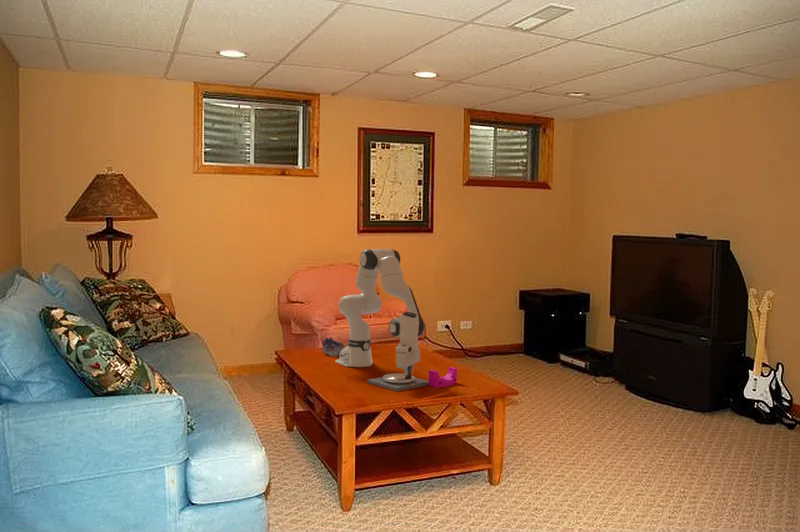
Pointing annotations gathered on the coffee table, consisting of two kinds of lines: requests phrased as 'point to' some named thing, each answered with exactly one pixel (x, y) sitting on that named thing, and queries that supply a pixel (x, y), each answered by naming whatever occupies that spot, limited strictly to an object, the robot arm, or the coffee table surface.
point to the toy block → (442, 378)
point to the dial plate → (398, 387)
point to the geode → (332, 347)
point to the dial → (399, 377)
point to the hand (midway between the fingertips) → (408, 374)
